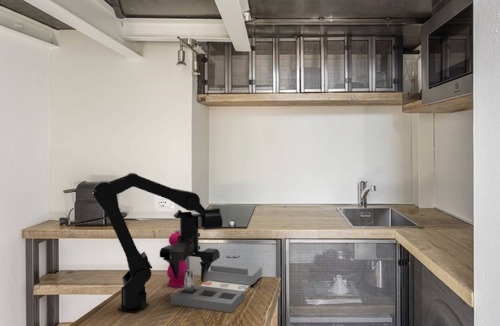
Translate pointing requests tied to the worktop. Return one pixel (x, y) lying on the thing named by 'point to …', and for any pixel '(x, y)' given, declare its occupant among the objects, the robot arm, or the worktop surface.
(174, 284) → the pepper mill
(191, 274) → the pin
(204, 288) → the hole board
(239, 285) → the plate
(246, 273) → the cover
